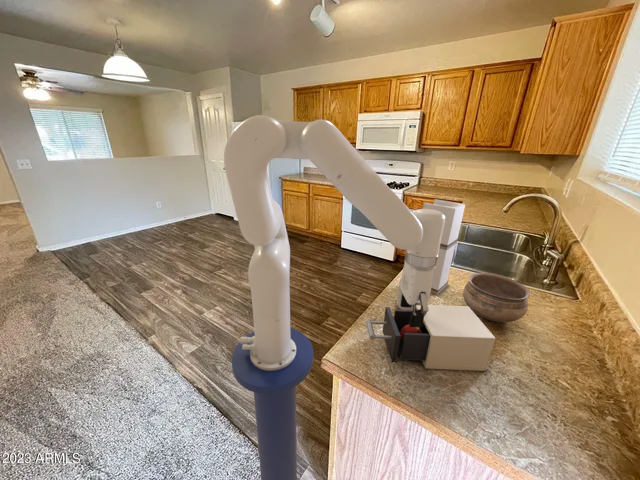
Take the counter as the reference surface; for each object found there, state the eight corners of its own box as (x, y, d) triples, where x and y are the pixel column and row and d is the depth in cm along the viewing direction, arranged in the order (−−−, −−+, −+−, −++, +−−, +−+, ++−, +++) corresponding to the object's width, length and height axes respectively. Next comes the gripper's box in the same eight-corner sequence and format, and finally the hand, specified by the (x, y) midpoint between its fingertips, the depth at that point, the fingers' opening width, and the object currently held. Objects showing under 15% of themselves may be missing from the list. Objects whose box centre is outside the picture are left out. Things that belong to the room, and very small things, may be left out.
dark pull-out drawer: (369, 361, 71) (372, 334, 68) (363, 330, 82) (365, 305, 79) (446, 364, 70) (453, 338, 67) (429, 332, 82) (434, 308, 79)
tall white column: (447, 285, 112) (465, 204, 99) (437, 294, 105) (455, 208, 92) (421, 275, 119) (435, 199, 107) (410, 284, 112) (423, 203, 100)
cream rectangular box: (425, 368, 70) (432, 335, 66) (410, 333, 83) (415, 304, 79) (485, 371, 70) (495, 338, 66) (460, 335, 83) (468, 306, 79)
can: (414, 315, 91) (420, 285, 87) (393, 308, 95) (397, 279, 91) (419, 305, 97) (425, 276, 93) (399, 299, 101) (403, 271, 97)
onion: (402, 329, 79) (414, 314, 74) (418, 344, 76) (432, 329, 71) (391, 339, 75) (403, 324, 70) (408, 355, 73) (422, 341, 67)
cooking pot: (514, 347, 78) (527, 313, 74) (448, 318, 90) (456, 287, 86) (526, 311, 96) (537, 282, 91) (470, 291, 108) (477, 264, 103)
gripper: (397, 245, 75) (389, 298, 81) (416, 274, 58) (405, 337, 65) (423, 246, 75) (414, 299, 81) (450, 275, 58) (436, 338, 65)
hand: (410, 315), depth 73 cm, fingers open, 8 cm apart
